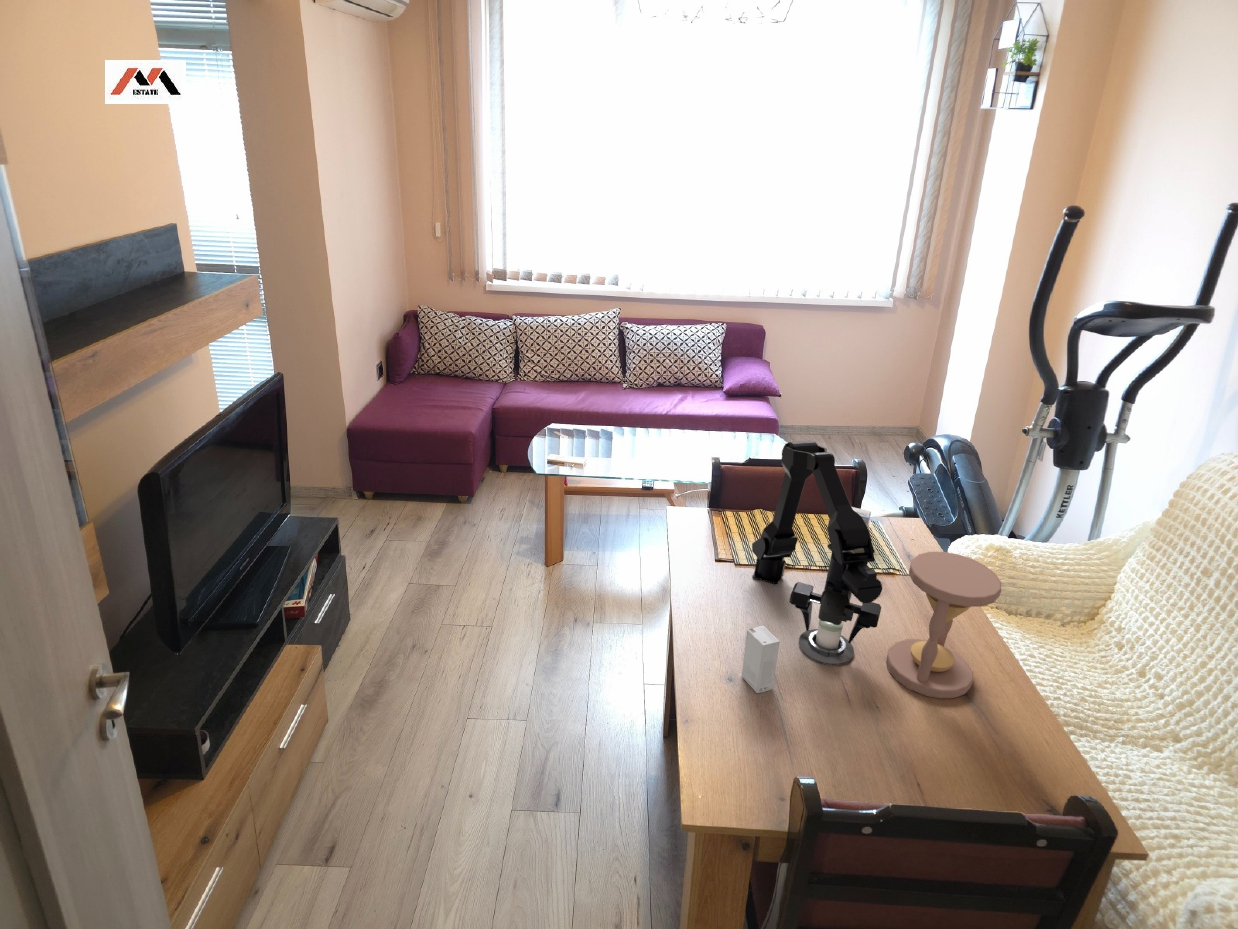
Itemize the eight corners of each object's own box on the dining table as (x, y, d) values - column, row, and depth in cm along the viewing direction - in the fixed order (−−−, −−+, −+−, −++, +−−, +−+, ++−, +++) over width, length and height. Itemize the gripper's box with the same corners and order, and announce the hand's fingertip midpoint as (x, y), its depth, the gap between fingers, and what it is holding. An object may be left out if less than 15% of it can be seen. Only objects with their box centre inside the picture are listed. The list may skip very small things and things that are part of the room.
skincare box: (773, 689, 165) (782, 641, 160) (755, 695, 163) (764, 646, 158) (756, 671, 170) (764, 624, 165) (738, 676, 168) (746, 628, 163)
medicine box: (865, 538, 226) (871, 511, 222) (862, 545, 222) (869, 517, 218) (837, 531, 229) (843, 504, 225) (834, 537, 225) (839, 510, 221)
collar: (793, 654, 176) (794, 648, 175) (804, 625, 186) (805, 619, 185) (848, 671, 172) (850, 665, 171) (857, 641, 182) (858, 634, 181)
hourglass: (909, 636, 185) (934, 542, 174) (984, 674, 174) (1016, 576, 163) (870, 668, 173) (895, 569, 163) (948, 711, 162) (979, 608, 152)
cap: (812, 648, 177) (817, 626, 175) (817, 636, 182) (821, 614, 179) (835, 655, 175) (840, 633, 173) (839, 642, 180) (844, 620, 177)
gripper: (789, 582, 167) (778, 643, 174) (881, 607, 161) (866, 670, 167) (800, 557, 177) (789, 616, 183) (887, 581, 170) (873, 640, 177)
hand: (828, 636), depth 177 cm, fingers open, 9 cm apart
